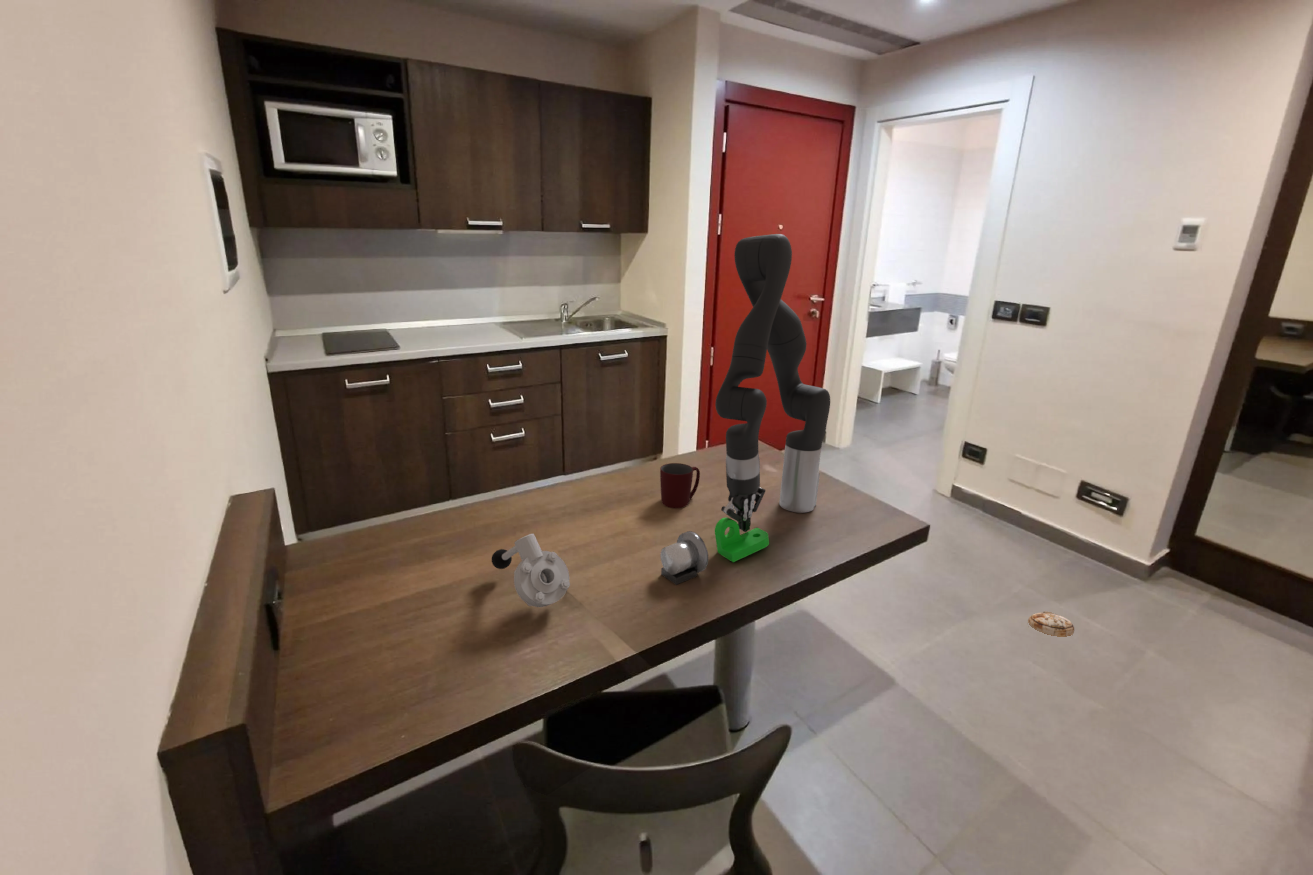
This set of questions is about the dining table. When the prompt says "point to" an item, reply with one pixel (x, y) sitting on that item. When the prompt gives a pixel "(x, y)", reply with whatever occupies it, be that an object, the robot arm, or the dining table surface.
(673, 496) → the mug
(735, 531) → the mechanical part
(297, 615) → the dining table surface
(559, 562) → the mechanical valve
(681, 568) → the grey mushroom knob
